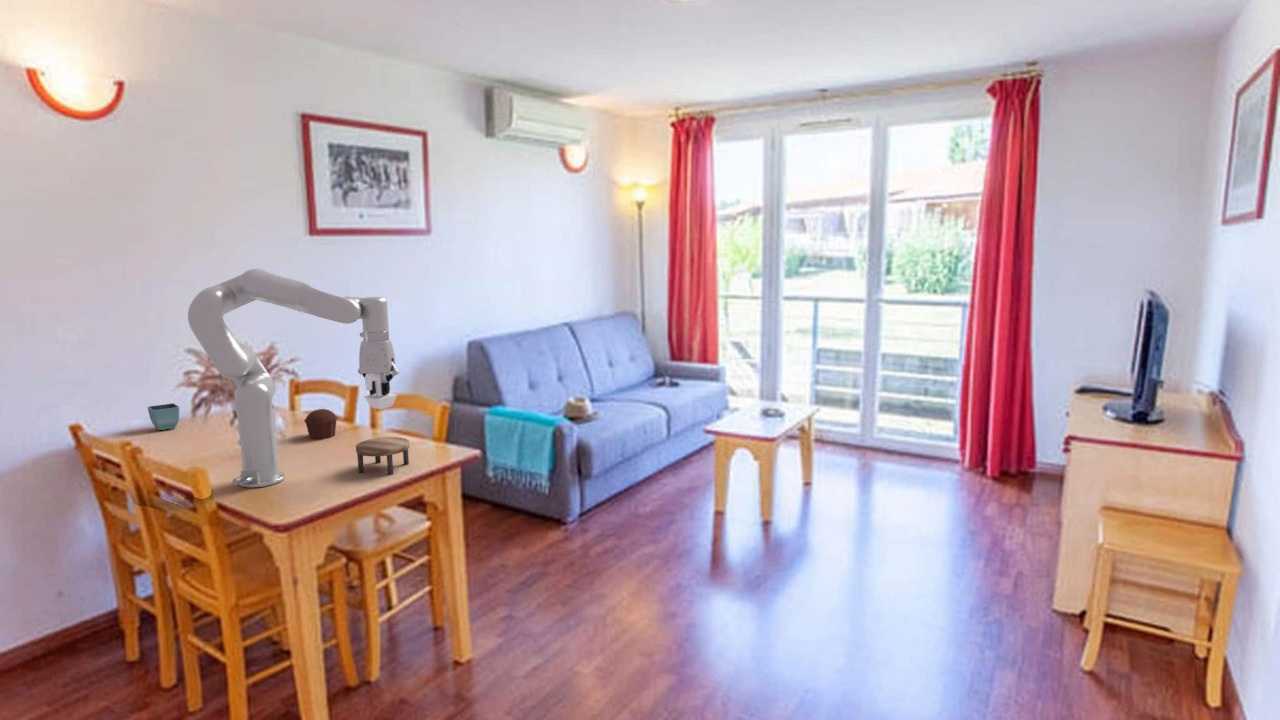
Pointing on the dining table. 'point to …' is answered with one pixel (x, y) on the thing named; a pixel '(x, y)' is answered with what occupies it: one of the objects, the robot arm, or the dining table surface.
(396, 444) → the walnut stool
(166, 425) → the flower pot
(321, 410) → the muffin
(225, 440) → the dining table surface
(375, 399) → the figurine
